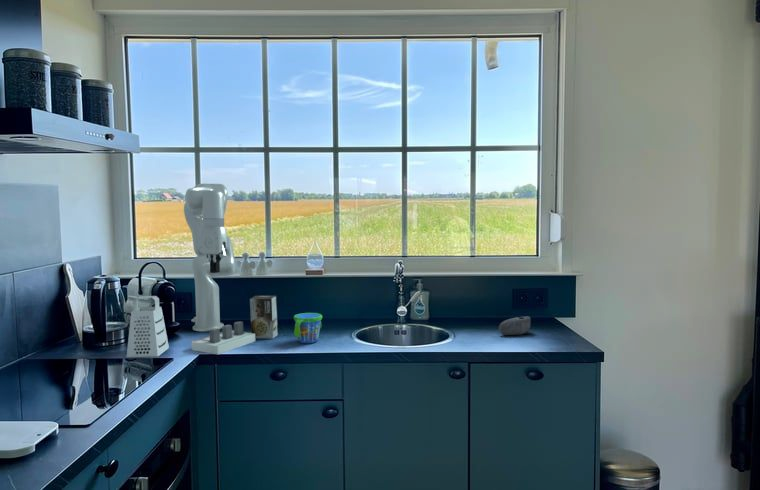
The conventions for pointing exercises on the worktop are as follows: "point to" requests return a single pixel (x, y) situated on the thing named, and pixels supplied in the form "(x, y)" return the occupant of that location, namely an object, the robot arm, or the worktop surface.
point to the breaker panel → (222, 343)
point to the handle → (214, 335)
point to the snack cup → (307, 327)
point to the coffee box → (264, 316)
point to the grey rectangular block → (227, 331)
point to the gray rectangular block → (238, 328)
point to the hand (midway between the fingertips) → (215, 272)
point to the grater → (147, 330)
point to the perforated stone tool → (515, 326)
